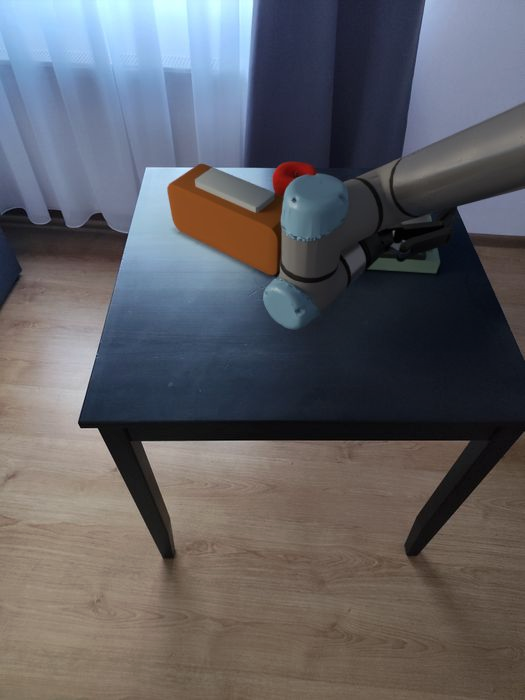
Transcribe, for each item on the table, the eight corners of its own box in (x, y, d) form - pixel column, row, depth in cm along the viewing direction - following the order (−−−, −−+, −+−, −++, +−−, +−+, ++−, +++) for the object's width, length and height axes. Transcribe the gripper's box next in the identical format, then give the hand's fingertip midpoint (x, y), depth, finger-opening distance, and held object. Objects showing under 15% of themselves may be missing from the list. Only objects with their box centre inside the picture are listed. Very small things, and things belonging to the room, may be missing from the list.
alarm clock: (303, 253, 86) (308, 198, 77) (276, 279, 81) (278, 224, 72) (202, 207, 94) (195, 153, 86) (173, 229, 90) (163, 174, 81)
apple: (262, 205, 95) (262, 168, 89) (294, 187, 99) (296, 152, 92) (294, 225, 91) (296, 188, 85) (326, 206, 94) (330, 170, 88)
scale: (436, 273, 82) (442, 256, 79) (360, 268, 83) (363, 252, 80) (427, 227, 90) (432, 210, 87) (358, 223, 91) (361, 206, 88)
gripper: (280, 239, 78) (353, 184, 88) (415, 310, 68) (480, 238, 78) (281, 199, 73) (359, 145, 83) (429, 271, 62) (497, 199, 72)
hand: (418, 190), depth 80 cm, fingers open, 13 cm apart
